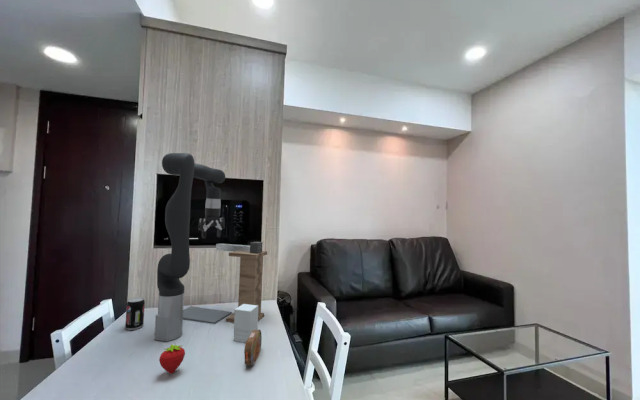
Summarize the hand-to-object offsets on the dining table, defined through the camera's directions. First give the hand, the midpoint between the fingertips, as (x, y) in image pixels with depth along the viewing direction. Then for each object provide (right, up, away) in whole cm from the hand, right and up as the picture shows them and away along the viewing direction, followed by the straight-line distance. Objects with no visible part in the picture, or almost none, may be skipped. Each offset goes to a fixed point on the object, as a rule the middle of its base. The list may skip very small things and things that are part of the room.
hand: (211, 237), depth 147 cm
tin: (+34, -37, -49) cm, 70 cm away
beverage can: (-23, -36, -27) cm, 50 cm away
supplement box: (+27, -37, -34) cm, 57 cm away
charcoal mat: (0, -37, -11) cm, 38 cm away
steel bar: (+18, -5, -11) cm, 21 cm away
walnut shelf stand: (+22, -37, -14) cm, 45 cm away
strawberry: (+11, -35, -59) cm, 70 cm away
